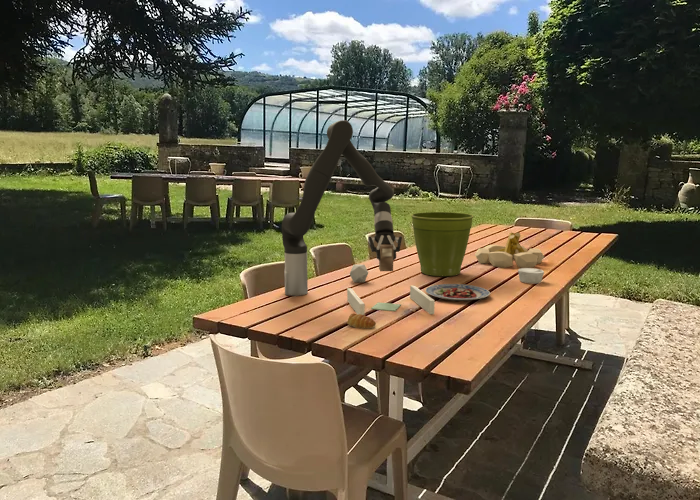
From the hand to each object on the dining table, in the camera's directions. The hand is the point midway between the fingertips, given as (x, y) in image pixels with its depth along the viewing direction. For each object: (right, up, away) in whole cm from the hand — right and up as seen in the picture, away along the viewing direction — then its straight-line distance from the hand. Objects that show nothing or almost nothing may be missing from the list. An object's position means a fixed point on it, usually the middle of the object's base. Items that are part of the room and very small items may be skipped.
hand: (386, 259), depth 213 cm
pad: (-1, -18, -9) cm, 20 cm away
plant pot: (+30, -8, +53) cm, 61 cm away
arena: (0, -18, -9) cm, 20 cm away
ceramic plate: (+29, -15, +8) cm, 34 cm away
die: (-10, -11, +34) cm, 37 cm away
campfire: (+72, -4, +82) cm, 109 cm away
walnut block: (0, -4, +3) cm, 5 cm away
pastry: (-11, -22, -32) cm, 40 cm away
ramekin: (+68, -11, +35) cm, 77 cm away
